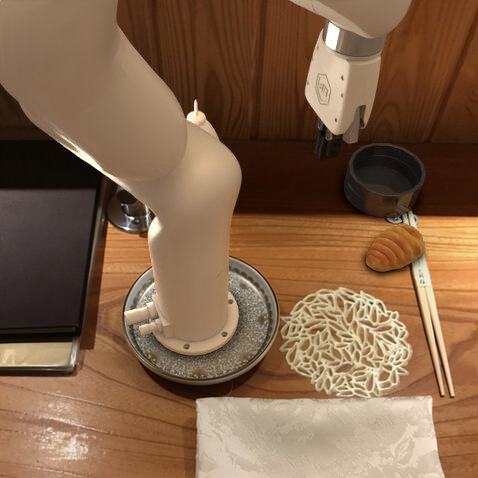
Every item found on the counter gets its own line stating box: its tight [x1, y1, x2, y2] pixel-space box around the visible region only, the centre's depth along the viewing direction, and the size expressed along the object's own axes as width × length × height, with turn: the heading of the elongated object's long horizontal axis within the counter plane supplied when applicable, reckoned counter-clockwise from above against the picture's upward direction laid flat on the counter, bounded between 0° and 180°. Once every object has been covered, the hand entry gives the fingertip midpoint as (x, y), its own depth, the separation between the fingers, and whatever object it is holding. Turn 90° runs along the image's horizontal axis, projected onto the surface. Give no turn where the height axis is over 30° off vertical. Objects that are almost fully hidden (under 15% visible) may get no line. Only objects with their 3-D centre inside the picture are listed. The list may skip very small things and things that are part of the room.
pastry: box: [365, 223, 427, 273], centre depth 86 cm, size 9×7×4 cm
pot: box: [343, 142, 427, 219], centre depth 93 cm, size 12×12×5 cm
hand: (326, 155), depth 82 cm, fingers closed
